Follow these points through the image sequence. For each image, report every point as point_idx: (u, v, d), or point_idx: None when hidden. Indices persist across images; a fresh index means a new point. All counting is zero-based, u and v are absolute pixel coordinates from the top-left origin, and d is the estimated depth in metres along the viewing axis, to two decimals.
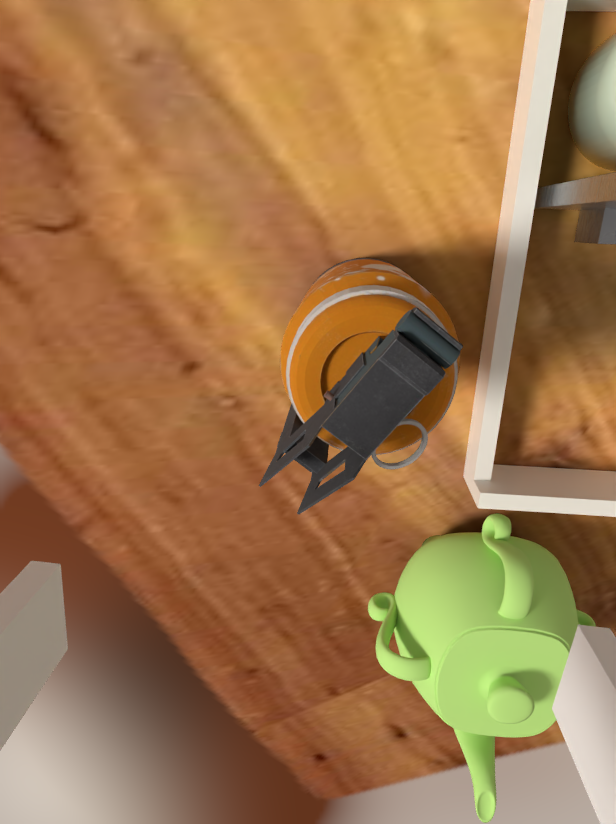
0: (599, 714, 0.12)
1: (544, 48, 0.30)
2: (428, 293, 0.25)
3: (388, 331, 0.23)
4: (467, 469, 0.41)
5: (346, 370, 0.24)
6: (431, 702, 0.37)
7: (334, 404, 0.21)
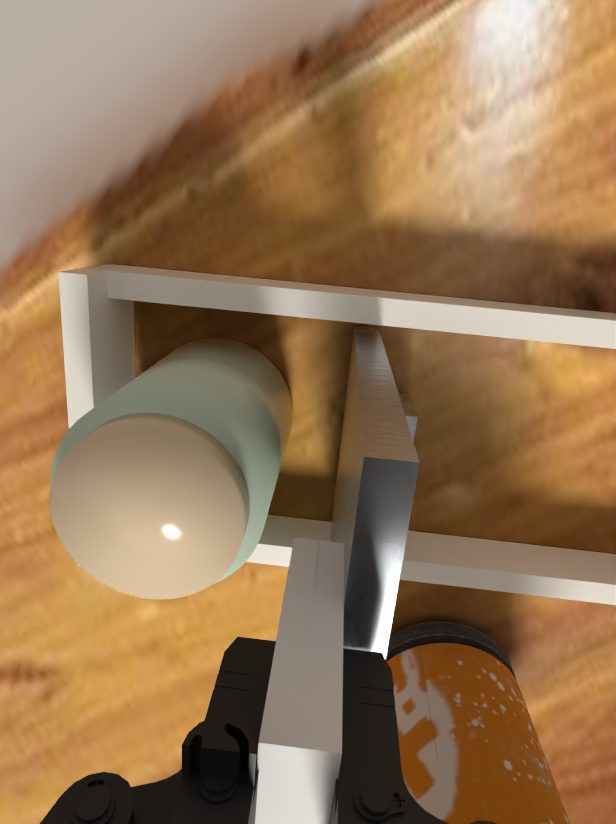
0: None
1: None
2: None
3: None
4: None
5: None
6: None
7: None
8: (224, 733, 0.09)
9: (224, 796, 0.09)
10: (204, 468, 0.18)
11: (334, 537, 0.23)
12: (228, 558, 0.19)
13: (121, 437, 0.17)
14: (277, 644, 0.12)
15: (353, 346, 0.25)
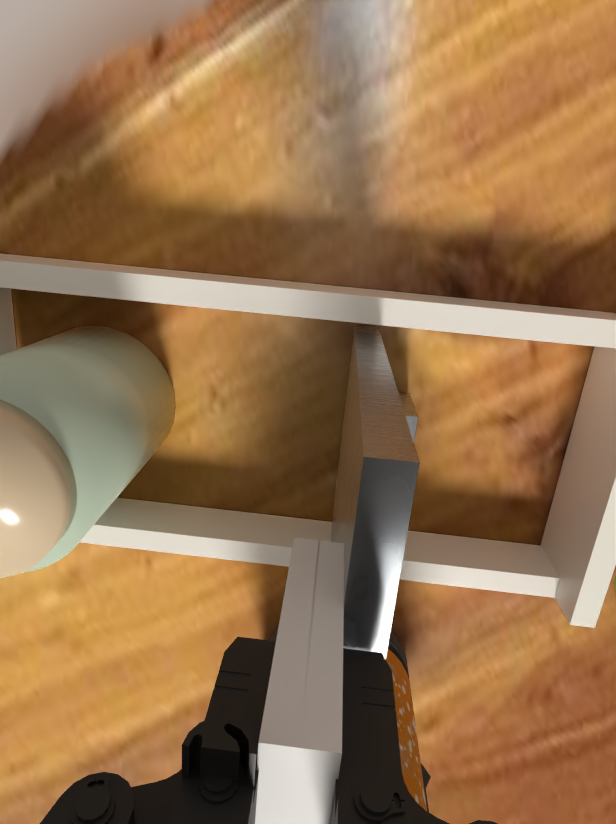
0: None
1: None
2: None
3: None
4: None
5: None
6: None
7: None
8: (224, 733, 0.09)
9: (224, 796, 0.09)
10: (14, 447, 0.18)
11: (334, 537, 0.23)
12: (49, 537, 0.19)
13: None
14: (277, 644, 0.12)
15: (353, 346, 0.25)
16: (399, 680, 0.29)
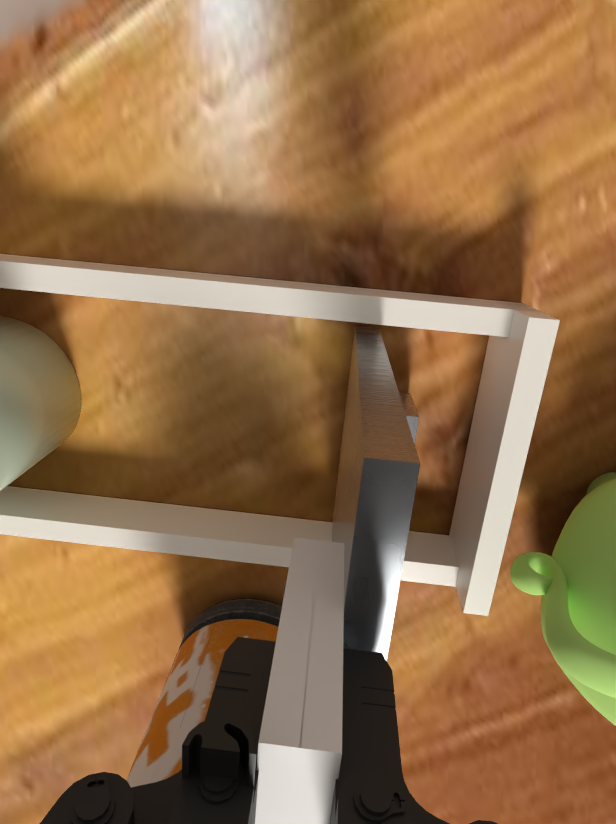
0: None
1: None
2: None
3: None
4: None
5: None
6: None
7: None
8: (224, 733, 0.09)
9: (224, 796, 0.09)
10: None
11: (335, 538, 0.23)
12: None
13: None
14: (277, 644, 0.12)
15: None
16: None
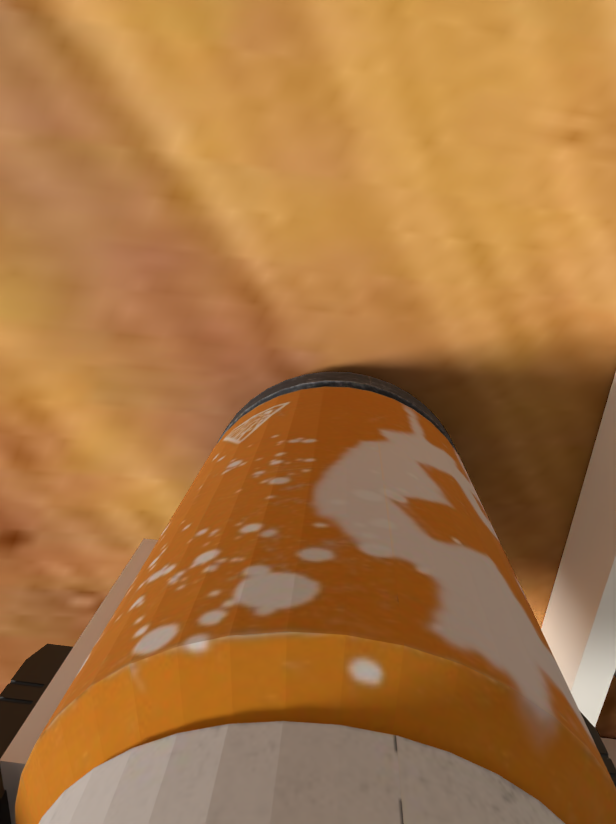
0: None
1: None
2: (550, 724, 0.06)
3: None
4: None
5: None
6: None
7: None
8: None
9: None
10: None
11: None
12: None
13: None
14: (71, 652, 0.11)
15: None
16: None
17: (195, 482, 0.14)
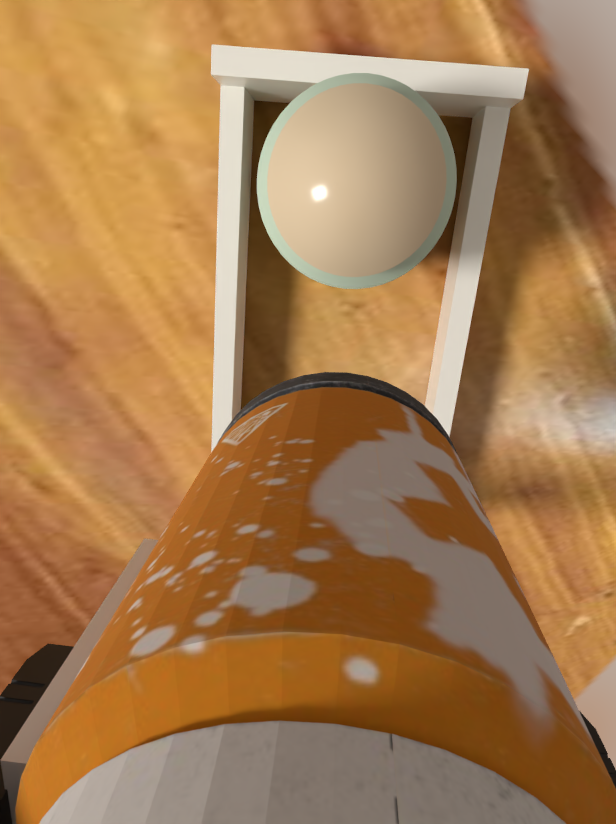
0: None
1: (226, 146, 0.28)
2: (546, 721, 0.06)
3: None
4: None
5: None
6: None
7: None
8: None
9: None
10: (403, 244, 0.21)
11: None
12: (315, 261, 0.21)
13: (435, 169, 0.20)
14: (72, 652, 0.11)
15: None
16: None
17: (194, 484, 0.14)
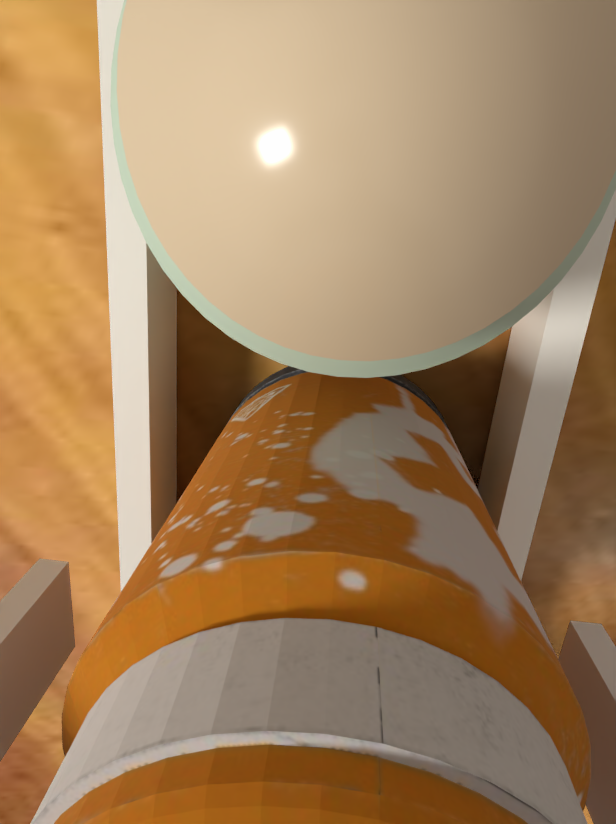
0: (590, 709, 0.12)
1: None
2: (508, 624, 0.08)
3: None
4: None
5: None
6: None
7: None
8: None
9: None
10: (496, 279, 0.08)
11: None
12: (260, 322, 0.08)
13: (603, 60, 0.07)
14: None
15: None
16: None
17: (206, 457, 0.15)
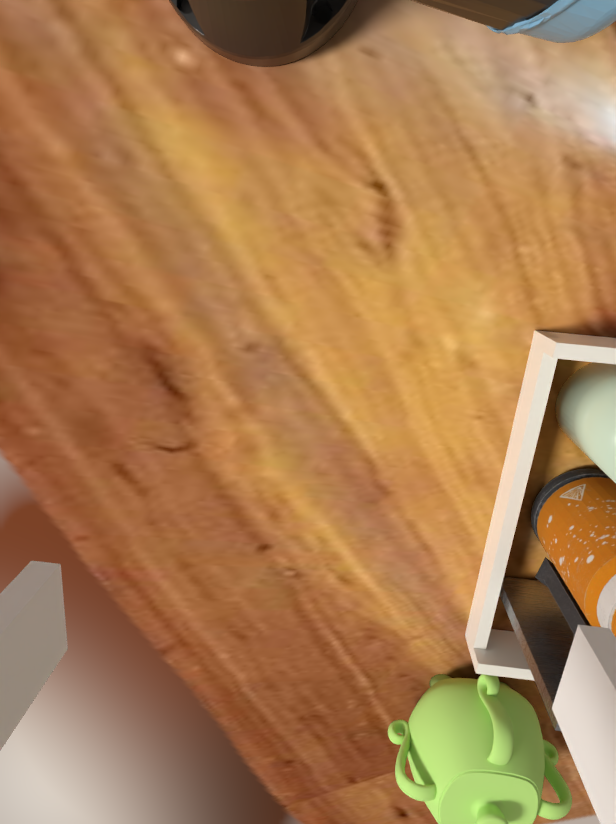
0: (599, 714, 0.12)
1: (540, 385, 0.43)
2: None
3: None
4: (468, 633, 0.54)
5: None
6: (434, 815, 0.50)
7: None
8: None
9: None
10: None
11: (549, 625, 0.46)
12: None
13: None
14: None
15: None
16: None
17: (567, 512, 0.44)
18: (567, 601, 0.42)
